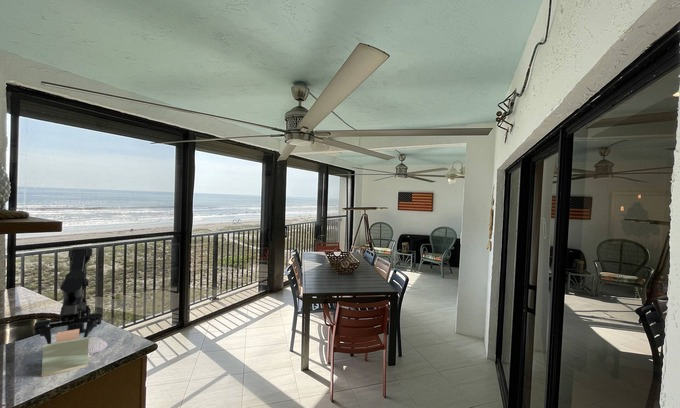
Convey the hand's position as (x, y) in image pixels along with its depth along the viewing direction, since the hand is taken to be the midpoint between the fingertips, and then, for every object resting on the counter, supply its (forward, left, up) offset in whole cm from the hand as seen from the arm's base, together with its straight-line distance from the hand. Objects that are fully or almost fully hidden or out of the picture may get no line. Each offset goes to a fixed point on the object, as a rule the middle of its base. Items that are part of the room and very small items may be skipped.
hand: (67, 345), depth 107 cm
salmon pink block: (-1, 0, -8) cm, 8 cm away
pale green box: (-2, +1, -9) cm, 9 cm away
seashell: (-9, +11, -9) cm, 17 cm away
